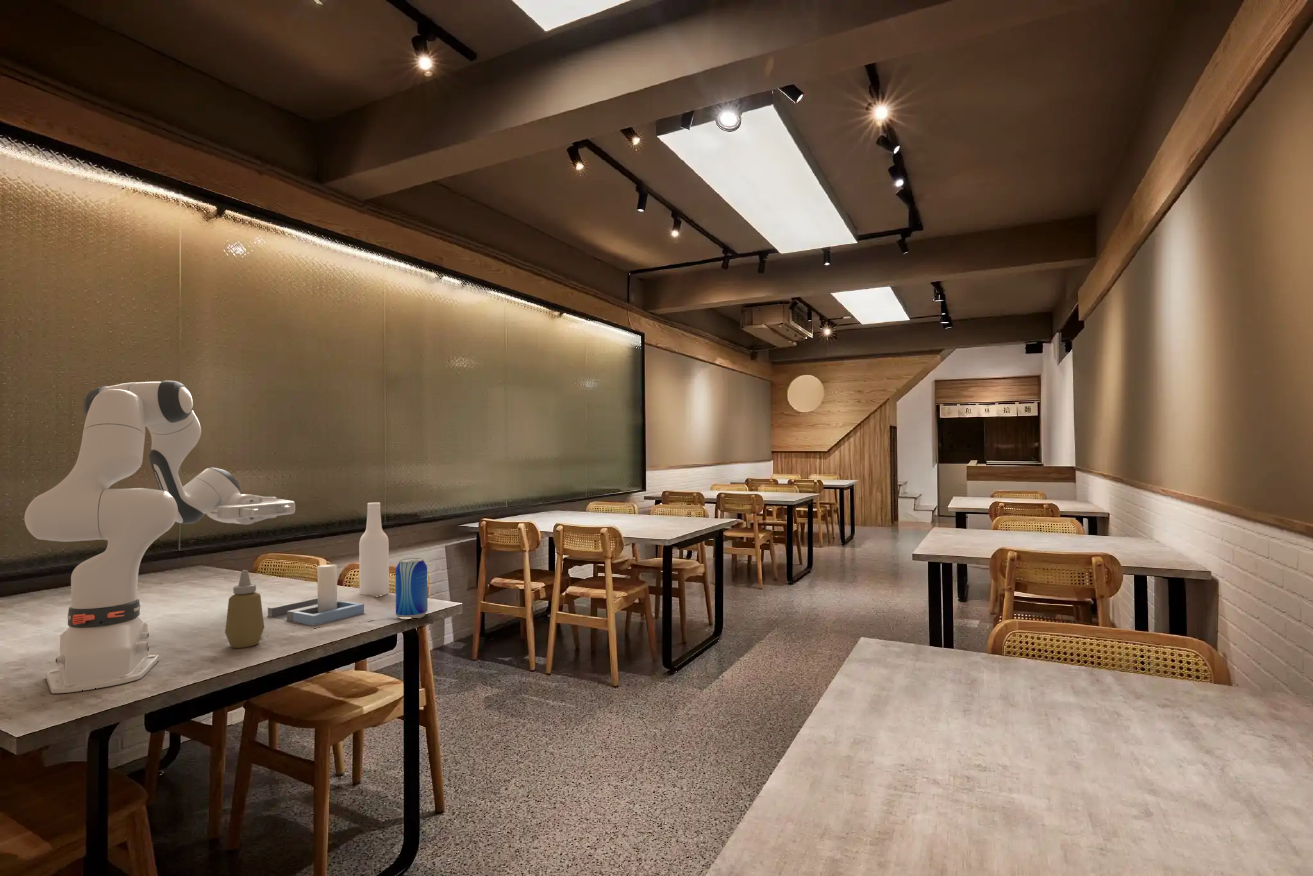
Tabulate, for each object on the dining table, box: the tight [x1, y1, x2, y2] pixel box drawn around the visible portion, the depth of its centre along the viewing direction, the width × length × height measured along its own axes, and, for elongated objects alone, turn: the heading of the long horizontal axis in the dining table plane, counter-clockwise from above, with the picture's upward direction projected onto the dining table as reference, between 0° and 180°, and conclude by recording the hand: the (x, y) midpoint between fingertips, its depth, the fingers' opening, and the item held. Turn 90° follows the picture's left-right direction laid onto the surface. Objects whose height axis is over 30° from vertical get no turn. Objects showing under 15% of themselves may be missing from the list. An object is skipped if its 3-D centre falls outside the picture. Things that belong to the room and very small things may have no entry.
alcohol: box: [358, 501, 390, 598], centre depth 214 cm, size 9×9×30 cm
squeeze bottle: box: [224, 569, 265, 649], centre depth 160 cm, size 8×8×18 cm
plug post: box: [316, 564, 338, 613], centre depth 182 cm, size 5×5×14 cm
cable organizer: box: [266, 596, 366, 630], centre depth 185 cm, size 22×15×4 cm
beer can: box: [394, 557, 429, 619], centre depth 185 cm, size 8×8×16 cm
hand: (272, 510), depth 189 cm, fingers open, 8 cm apart
